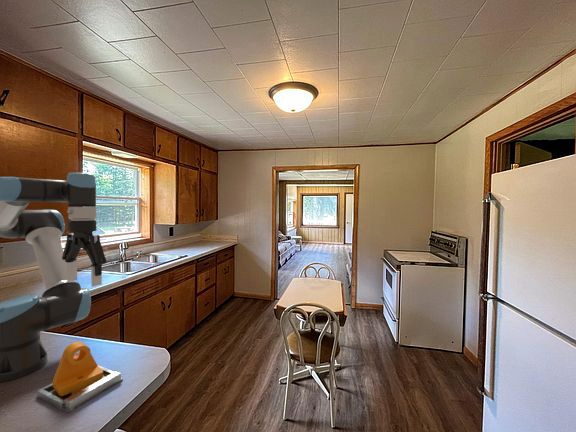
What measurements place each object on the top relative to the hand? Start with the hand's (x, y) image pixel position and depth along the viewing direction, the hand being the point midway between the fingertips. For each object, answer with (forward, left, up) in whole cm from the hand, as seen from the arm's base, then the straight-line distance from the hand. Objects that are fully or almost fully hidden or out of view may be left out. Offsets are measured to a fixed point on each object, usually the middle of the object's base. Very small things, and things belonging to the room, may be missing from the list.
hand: (84, 283), depth 91 cm
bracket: (+9, -7, -28) cm, 31 cm away
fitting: (+10, -7, -29) cm, 31 cm away
